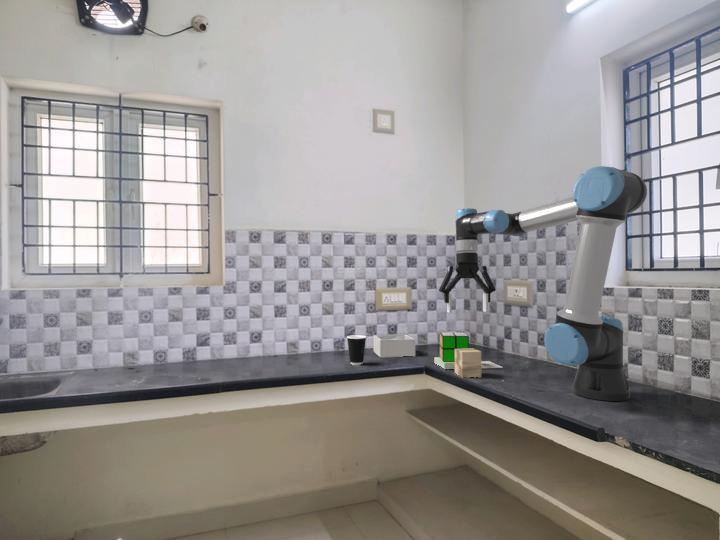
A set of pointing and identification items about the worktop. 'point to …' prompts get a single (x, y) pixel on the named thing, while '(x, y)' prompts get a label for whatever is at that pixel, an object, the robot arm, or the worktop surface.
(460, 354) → the oak block
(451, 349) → the puzzle cube
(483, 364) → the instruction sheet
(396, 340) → the box
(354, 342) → the dixie cup
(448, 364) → the base plate
